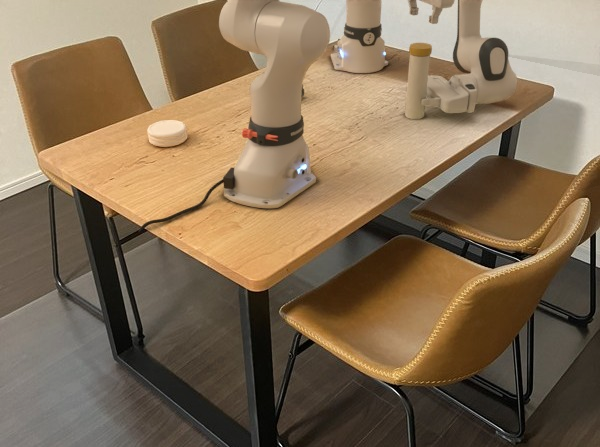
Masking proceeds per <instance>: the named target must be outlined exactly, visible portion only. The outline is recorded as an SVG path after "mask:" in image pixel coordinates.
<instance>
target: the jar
mask: <svg viewBox="0 0 600 447" xmlns="http://www.w3.org/2000/svg"><path fill="white" fill-rule="evenodd" d="M430 61H431V54H430V55H428V56H415V55H411V54H410V53H409V60H408V74H407V85H406V88H407V91H406V97H405V98H406V99H405V111H404V116H405V117H406V118H408V119H411V120H421V119H423V118H425V111H426V106H422V105H421V104H420V99H421V98H425V97H426V92H427V82H428V76H429V72H430Z"/></svg>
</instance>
